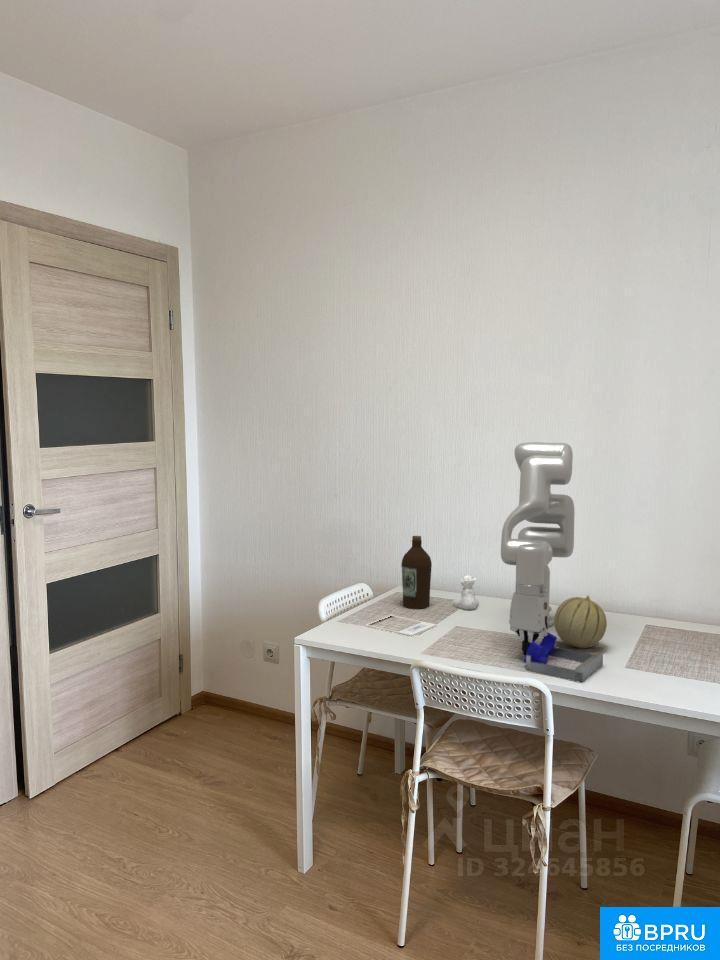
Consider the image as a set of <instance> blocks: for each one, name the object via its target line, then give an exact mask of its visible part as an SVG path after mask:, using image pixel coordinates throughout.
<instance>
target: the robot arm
mask: <svg viewBox="0 0 720 960" xmlns="http://www.w3.org/2000/svg"><path fill="white" fill-rule="evenodd" d="M573 455H574V454H573V449H572V447H571V445H570V444H568V443H565V442H535V441H534V442H533V441H532V442H523V443H521V442H520V443H519V444H517V445H516V446H515V449H514V459H515V462H516V466H517V467H518V469H519V471H520V476H519V478H520V481H519V496H518V497H519V498H518V499H519V500H518V505H517V507H516V508H515V509H513V510H512V512H510V514H509V515H508V517H507V518H506V519H505V521H504V522H503V523H504V524H503V526H502V530H501V541H500V558H501V560H502V562H503V563H504V564H506V565H509V566H515V591H514V592H513V593H512V597H511V602H510V609H509V610H510V611H509V625H510V626H509V630H510V631H511V632H513V633H516V634H517V636H518V637H519V640H520V641H521V651H522V656H524V657H525V656H526V653H527V651H528V648H529V645H530V643H531V642H532V641H533V642H535V641H536V640H537V639H538V638H544V637H546V636H547V635H548V634H547V632H548V630H549V629H550V628H549V627H552V626H553V625H554V618H552V617H551V616H550V615H549V614H550V612H551V611H552V606H550V592H551V591H550V590H551V589H550V585H551V582H550V580H551V571H550V570H551V569H550V568H549V564H550V562H551V561H552V560H553V558H568V557H571V556H572V554H573V553H574V548H575V504H574V500H573V498H572V497H571V496H570V495H568V494H561V493H560V494H559V493H558V494H556V493H551V492H552V491H551V485H552V486H553V485H555V486H562V485H563V486H564V485H565V486H566V485H568V484H569V483H570V482H571V478H572V475H573V457H574V456H573ZM523 521H526V522H528V523H531V524H546V525H547V524H549V525H555V524H556V525H557V526H558V527H552V526H551V527H547V526H526V527H523V528H522V529H520V530H519V532H518V535H517V538H512V535H513V531H514V528H515V527H516V526H517V525H519V524H520V523H522V522H523Z"/></svg>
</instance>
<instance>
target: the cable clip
mask: <svg viewBox="0 0 720 960" xmlns="http://www.w3.org/2000/svg"><path fill="white" fill-rule="evenodd" d="M547 634H548V635H547V636H546V637H542V641H541V642H540V644H538V643H537V642H535V641H534V642H533V641H532V642H531V643H530V645H529V648H528V651H527V653H526V655H532V661H535V662H540V663H544V664H548V662H549V659H548V658H549V657H550V654H551V652H552V649H553V647H555V644H556V641H557V639H558V636H556V635H555V634H552V633H551V632H548V631H547ZM526 655H525V656H524V658H523V661H522V662H523V663H524V664H526Z"/></svg>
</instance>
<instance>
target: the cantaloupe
mask: <svg viewBox="0 0 720 960" xmlns="http://www.w3.org/2000/svg"><path fill="white" fill-rule="evenodd" d="M553 620H554V624H553V625H554V627H553V628H554V630H555V633H556V634H557V635H558V636H557V637H559V639H560V640H562V641H563V642H564V643H566V644H568V645H569V646H571V647H572V648H578V649H585V648H591V647H594V646H595V645H597V644H598V643H599V642H600V641H601V640H602V639H603V638H604V636H605V633H606V630H607V625H608V624H607V623H608V622H607V617H606V613H605V612H604V610H603V609H602V606H600V605H599V604H598V603H596V602H594V601H592V600H591V599H590V595H586V597H581V596H580V597H579V596H574V597H569V598H568V599H566V600H564V601H563V602H562V603H560V605H559V606H558V607H557V609H556V611H555V613H554V617H553Z"/></svg>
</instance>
